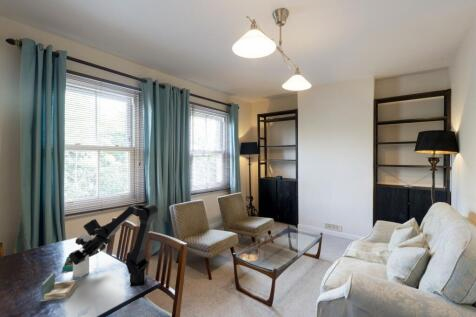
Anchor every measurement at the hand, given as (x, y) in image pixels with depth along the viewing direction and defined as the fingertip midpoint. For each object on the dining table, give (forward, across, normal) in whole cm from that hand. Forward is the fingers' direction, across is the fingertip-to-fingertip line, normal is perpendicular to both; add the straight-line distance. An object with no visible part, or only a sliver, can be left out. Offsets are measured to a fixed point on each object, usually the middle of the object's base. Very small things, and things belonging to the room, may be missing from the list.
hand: (78, 261), depth 123 cm
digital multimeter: (+14, -8, -3) cm, 16 cm away
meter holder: (+1, +16, +9) cm, 18 cm away
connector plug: (+4, 0, +6) cm, 7 cm away
